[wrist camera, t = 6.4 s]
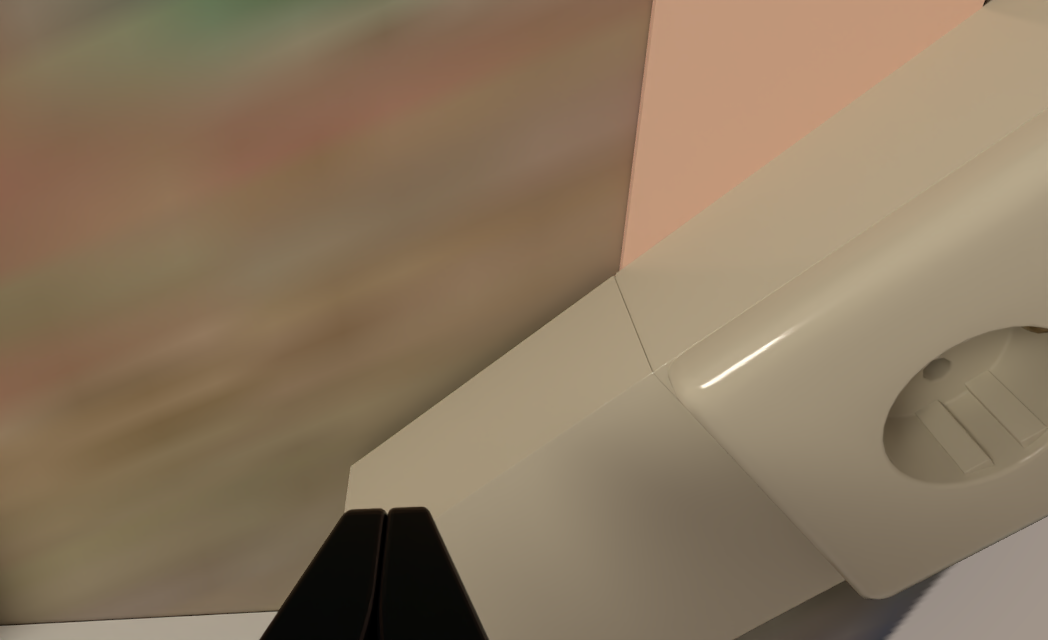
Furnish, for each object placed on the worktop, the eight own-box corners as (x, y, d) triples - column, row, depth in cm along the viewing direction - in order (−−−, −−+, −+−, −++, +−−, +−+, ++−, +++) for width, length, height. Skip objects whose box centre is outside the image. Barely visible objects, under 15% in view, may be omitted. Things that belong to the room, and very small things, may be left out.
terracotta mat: (781, 573, 20) (784, 579, 20) (580, 583, 20) (581, 589, 20) (1137, -471, 10) (1150, -477, 9) (716, -513, 9) (721, -519, 9)
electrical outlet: (328, 630, 13) (1501, -132, 8) (350, 466, 16) (1186, -141, 11) (573, 770, 16) (1507, 293, 11) (550, 610, 20) (1262, 188, 15)
